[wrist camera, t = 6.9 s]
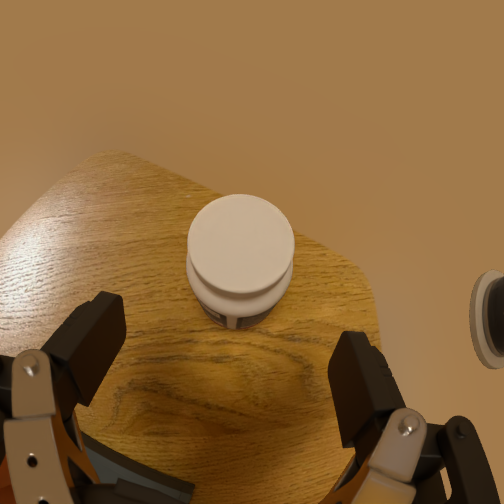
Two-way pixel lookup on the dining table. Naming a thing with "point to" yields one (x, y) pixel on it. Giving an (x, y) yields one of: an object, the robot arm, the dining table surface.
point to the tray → (133, 471)
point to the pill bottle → (239, 259)
